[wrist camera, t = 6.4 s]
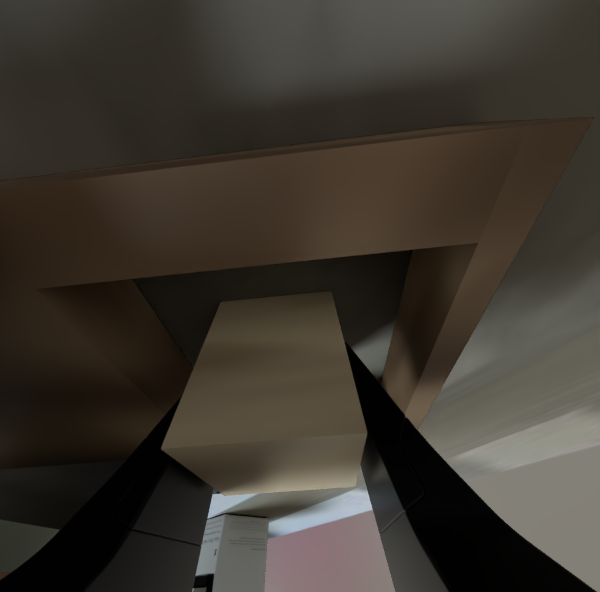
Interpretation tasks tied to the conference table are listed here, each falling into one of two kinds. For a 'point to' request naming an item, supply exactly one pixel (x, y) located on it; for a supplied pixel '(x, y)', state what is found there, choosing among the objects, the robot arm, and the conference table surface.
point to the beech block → (271, 400)
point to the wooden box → (235, 254)
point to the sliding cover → (20, 543)
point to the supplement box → (235, 553)
